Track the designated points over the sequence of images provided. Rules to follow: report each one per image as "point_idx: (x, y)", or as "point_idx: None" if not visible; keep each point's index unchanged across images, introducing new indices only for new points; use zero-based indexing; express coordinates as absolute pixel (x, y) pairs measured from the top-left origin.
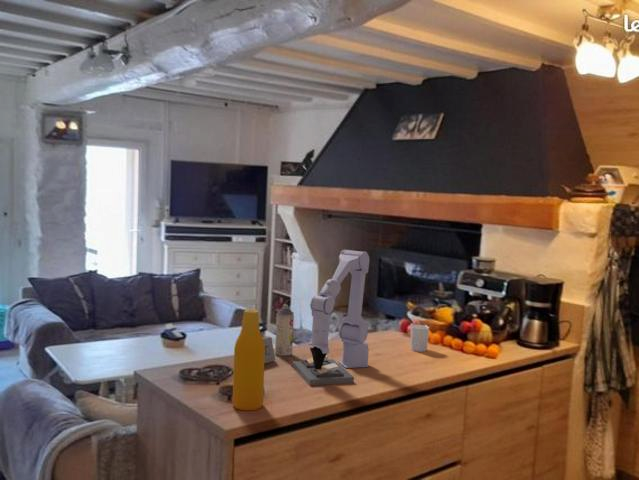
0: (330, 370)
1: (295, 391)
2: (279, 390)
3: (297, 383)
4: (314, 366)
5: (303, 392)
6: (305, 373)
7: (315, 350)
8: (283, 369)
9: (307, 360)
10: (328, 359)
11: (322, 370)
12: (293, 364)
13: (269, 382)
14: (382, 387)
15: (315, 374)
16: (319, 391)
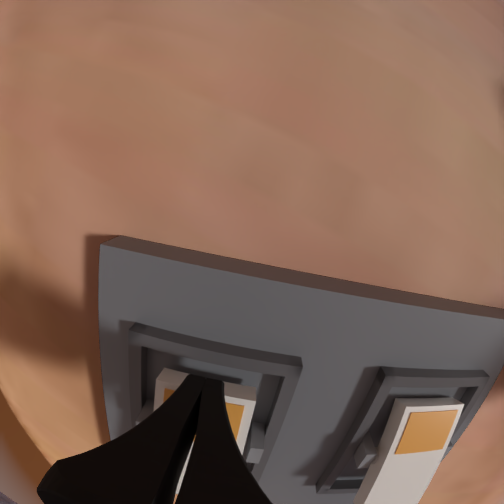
0: None
1: (67, 103)
2: (120, 18)
3: (191, 172)
4: (210, 386)
5: (40, 145)
6: (261, 292)
7: (41, 494)
8: (494, 233)
9: (452, 405)
10: None
11: (155, 400)
12: (498, 314)
13: (289, 4)
14: None
15: (166, 337)
16: (32, 242)
